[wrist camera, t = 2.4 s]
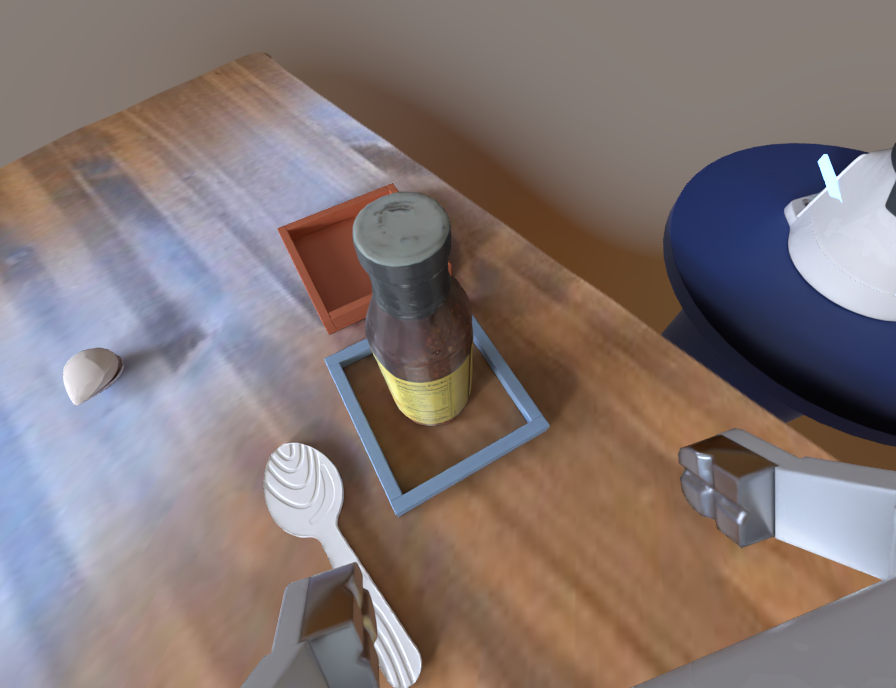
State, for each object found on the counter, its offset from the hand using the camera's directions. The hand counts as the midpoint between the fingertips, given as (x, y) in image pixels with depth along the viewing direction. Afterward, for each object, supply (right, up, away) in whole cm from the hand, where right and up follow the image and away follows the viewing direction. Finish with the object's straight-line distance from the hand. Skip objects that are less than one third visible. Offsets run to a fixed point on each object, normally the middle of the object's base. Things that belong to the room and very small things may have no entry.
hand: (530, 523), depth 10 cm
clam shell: (-32, +1, +26) cm, 41 cm away
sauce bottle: (-3, 0, +25) cm, 25 cm away
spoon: (-9, -10, +19) cm, 24 cm away
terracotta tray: (-10, +13, +32) cm, 36 cm away
